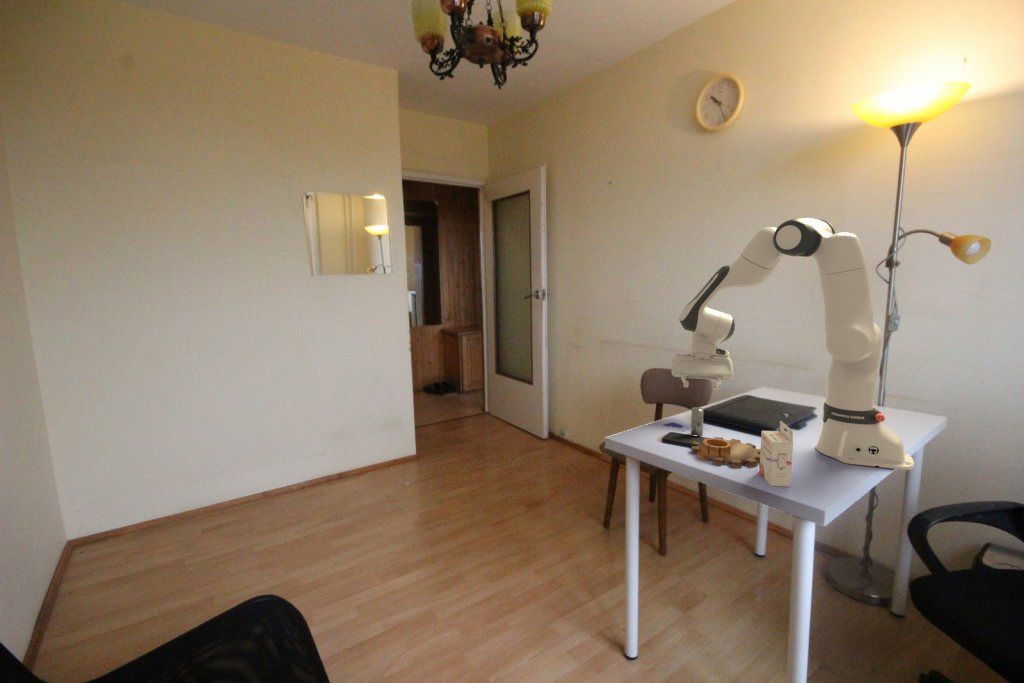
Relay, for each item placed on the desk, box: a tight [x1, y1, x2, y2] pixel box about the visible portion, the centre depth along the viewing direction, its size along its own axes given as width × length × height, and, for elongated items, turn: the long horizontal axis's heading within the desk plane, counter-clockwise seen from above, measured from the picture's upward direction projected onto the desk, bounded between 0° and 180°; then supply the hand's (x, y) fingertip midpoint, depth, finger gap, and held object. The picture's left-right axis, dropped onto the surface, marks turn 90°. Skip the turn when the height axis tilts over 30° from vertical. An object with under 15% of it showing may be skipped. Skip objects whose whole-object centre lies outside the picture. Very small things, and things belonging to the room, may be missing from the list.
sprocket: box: [690, 436, 761, 469], centre depth 136 cm, size 20×20×4 cm
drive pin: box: [690, 406, 705, 437], centre depth 152 cm, size 4×4×9 cm
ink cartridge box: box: [758, 420, 794, 487], centre depth 118 cm, size 9×5×15 cm, turn 170°
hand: (700, 387), depth 160 cm, fingers open, 8 cm apart
